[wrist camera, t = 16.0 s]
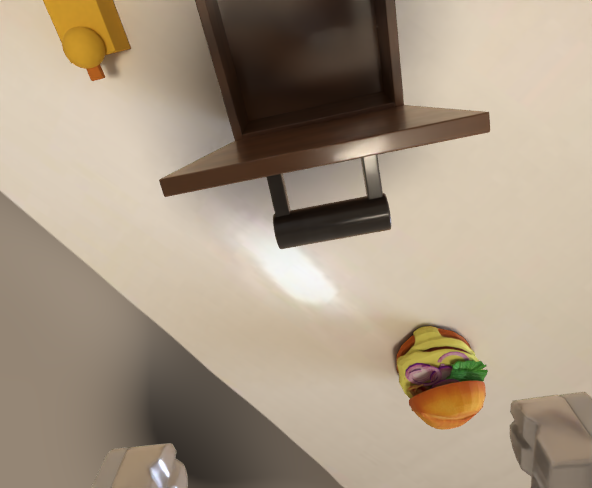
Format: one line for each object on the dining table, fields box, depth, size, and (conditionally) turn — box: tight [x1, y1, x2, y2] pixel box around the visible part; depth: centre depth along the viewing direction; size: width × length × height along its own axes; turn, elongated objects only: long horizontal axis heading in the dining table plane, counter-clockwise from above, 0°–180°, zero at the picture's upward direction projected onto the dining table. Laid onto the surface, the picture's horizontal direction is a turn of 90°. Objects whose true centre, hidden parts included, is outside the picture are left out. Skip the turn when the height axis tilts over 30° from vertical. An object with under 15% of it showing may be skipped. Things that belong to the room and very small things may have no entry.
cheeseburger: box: [397, 326, 488, 429], centre depth 50 cm, size 10×11×10 cm
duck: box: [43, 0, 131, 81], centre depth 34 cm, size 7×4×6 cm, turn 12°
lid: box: [159, 105, 490, 249], centre depth 26 cm, size 17×14×5 cm
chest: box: [195, 0, 404, 141], centre depth 33 cm, size 16×14×6 cm
